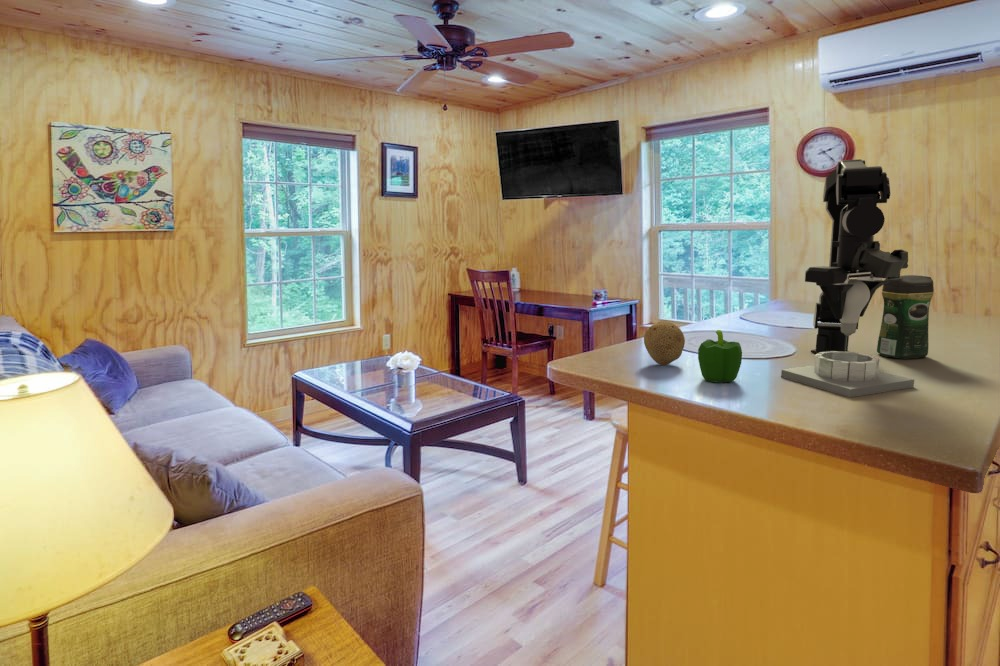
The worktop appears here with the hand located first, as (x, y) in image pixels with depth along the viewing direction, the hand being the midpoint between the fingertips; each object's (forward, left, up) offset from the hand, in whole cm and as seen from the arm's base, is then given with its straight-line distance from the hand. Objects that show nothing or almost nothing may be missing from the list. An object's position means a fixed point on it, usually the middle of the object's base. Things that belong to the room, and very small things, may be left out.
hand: (849, 317), depth 114 cm
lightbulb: (0, 0, -4) cm, 4 cm away
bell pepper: (+21, -11, -13) cm, 27 cm away
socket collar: (0, 0, -11) cm, 11 cm away
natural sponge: (+23, -27, -13) cm, 38 cm away
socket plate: (0, 0, -13) cm, 13 cm away
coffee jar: (-30, -11, -13) cm, 35 cm away
